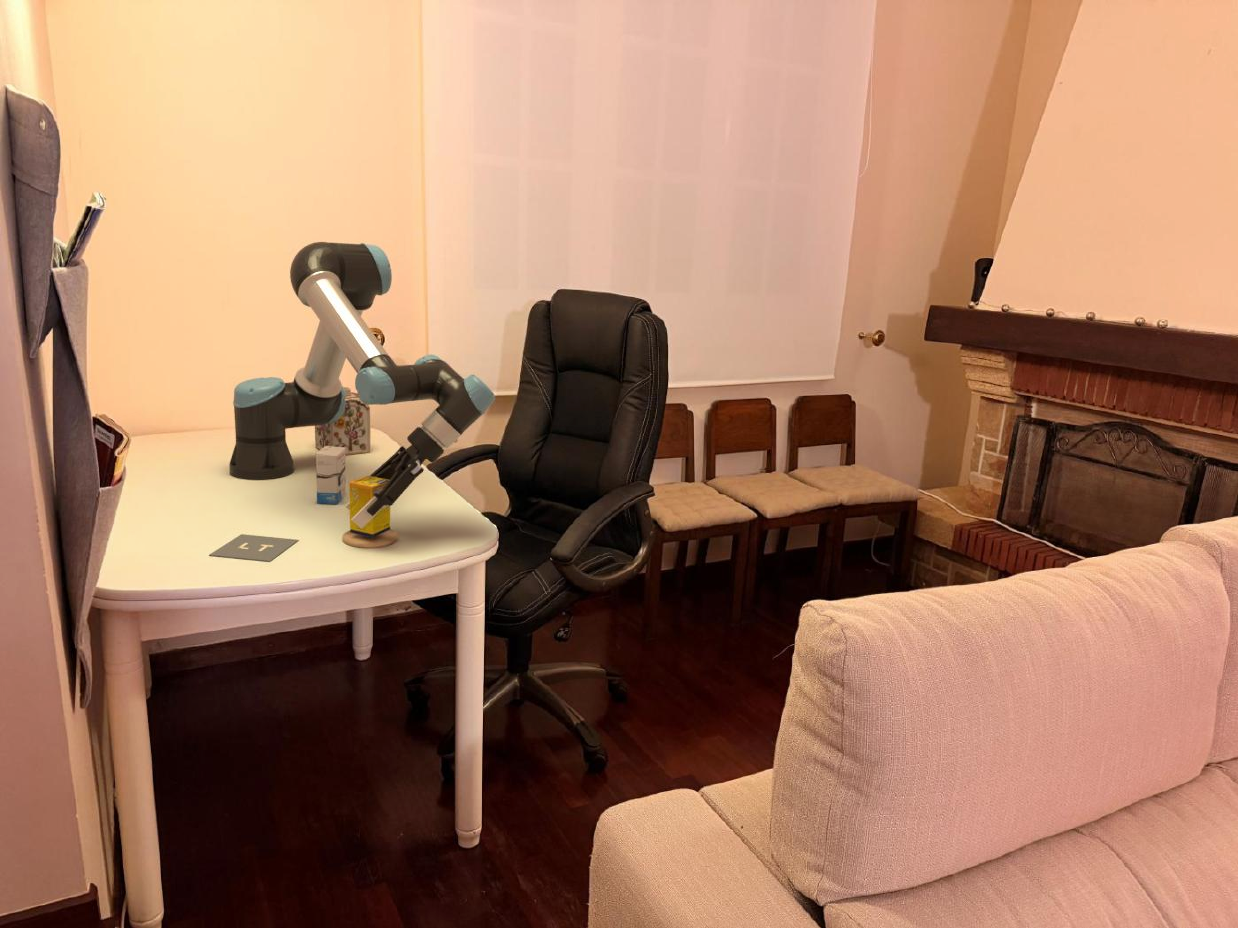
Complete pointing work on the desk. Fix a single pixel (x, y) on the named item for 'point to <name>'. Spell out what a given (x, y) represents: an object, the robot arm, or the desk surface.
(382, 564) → the desk surface
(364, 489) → the supplement box
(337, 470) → the ink box
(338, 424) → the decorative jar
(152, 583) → the desk surface
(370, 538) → the coaster
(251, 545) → the grey flat square slab
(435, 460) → the robot arm
